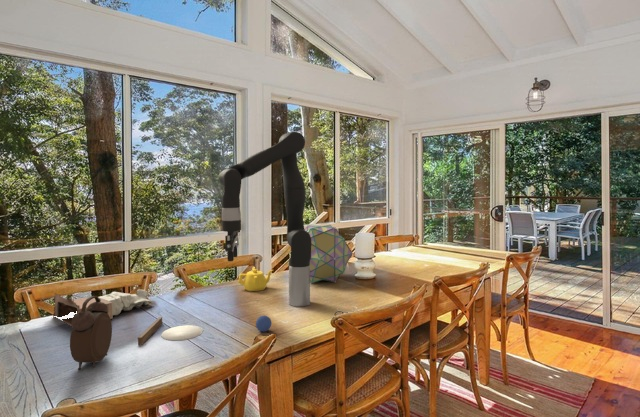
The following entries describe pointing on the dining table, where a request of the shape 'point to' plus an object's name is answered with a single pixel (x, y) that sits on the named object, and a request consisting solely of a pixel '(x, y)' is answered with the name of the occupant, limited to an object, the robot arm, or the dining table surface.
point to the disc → (182, 332)
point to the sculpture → (327, 253)
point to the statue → (112, 300)
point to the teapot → (254, 280)
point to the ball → (263, 323)
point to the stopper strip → (149, 331)
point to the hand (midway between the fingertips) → (232, 259)
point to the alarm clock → (91, 333)
